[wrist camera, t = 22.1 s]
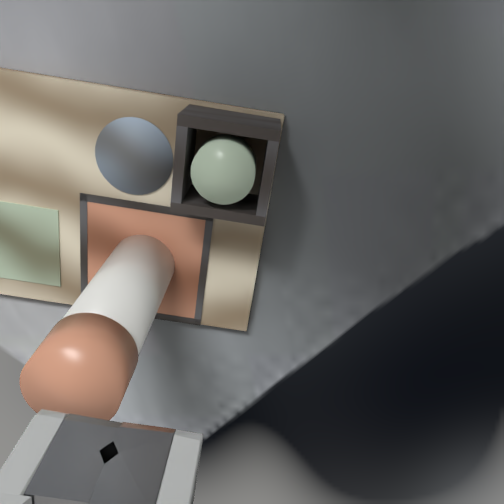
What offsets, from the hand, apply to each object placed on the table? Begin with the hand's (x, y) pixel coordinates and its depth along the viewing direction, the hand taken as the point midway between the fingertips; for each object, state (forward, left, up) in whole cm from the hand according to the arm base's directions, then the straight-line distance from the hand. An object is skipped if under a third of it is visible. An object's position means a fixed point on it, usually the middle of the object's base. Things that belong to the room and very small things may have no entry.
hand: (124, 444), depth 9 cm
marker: (+9, -5, -23) cm, 25 cm away
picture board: (+5, -7, -24) cm, 25 cm away
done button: (0, 0, -21) cm, 21 cm away
